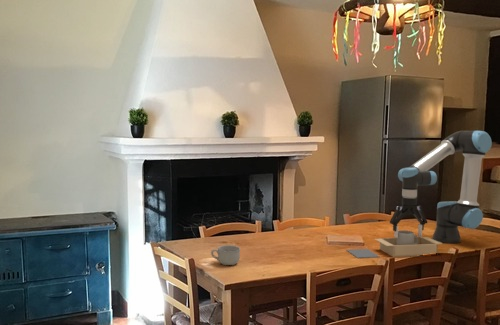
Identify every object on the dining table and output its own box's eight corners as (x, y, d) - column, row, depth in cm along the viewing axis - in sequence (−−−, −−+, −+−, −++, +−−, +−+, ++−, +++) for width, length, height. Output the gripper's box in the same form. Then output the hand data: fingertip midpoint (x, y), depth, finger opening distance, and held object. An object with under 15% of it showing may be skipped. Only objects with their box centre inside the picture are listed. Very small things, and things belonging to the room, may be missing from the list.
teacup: (239, 260, 234) (240, 244, 233) (240, 267, 223) (240, 250, 222) (211, 260, 233) (211, 244, 233) (210, 267, 222) (210, 250, 222)
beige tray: (426, 247, 263) (426, 236, 262) (443, 255, 246) (443, 243, 246) (373, 249, 257) (373, 238, 257) (387, 257, 241) (387, 246, 241)
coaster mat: (367, 249, 256) (367, 248, 256) (379, 257, 242) (379, 256, 242) (346, 250, 254) (346, 249, 254) (357, 258, 240) (357, 257, 240)
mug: (403, 255, 246) (404, 234, 245) (393, 251, 254) (393, 231, 253) (422, 253, 250) (423, 232, 249) (411, 249, 258) (412, 229, 257)
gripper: (427, 195, 255) (426, 234, 257) (383, 196, 251) (382, 235, 253) (435, 197, 248) (433, 237, 250) (390, 198, 244) (389, 239, 245)
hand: (408, 236), depth 251 cm, fingers open, 13 cm apart
